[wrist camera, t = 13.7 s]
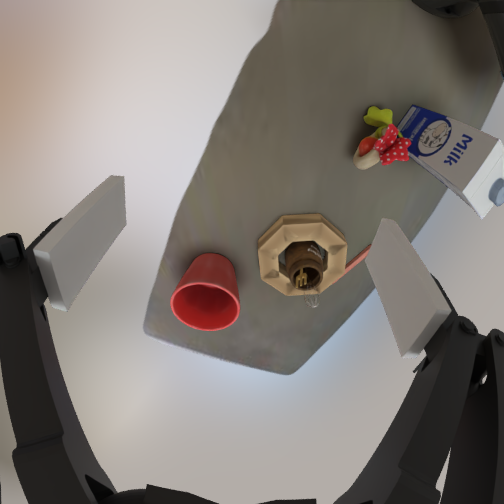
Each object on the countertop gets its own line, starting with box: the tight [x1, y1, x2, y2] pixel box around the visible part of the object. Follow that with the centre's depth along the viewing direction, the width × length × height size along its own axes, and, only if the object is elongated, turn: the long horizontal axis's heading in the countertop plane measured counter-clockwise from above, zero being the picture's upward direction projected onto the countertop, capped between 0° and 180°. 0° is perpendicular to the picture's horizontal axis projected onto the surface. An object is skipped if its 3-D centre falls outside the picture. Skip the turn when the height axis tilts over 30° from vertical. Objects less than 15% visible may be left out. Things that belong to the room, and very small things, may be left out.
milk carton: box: [397, 105, 504, 219], centre depth 29 cm, size 7×7×20 cm
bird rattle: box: [353, 106, 411, 170], centre depth 34 cm, size 6×11×9 cm
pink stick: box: [332, 244, 371, 284], centre depth 50 cm, size 10×1×1 cm, turn 141°
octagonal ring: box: [258, 213, 347, 296], centre depth 49 cm, size 14×14×3 cm
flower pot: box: [170, 253, 240, 331], centre depth 49 cm, size 11×11×10 cm
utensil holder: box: [285, 241, 323, 308], centre depth 45 cm, size 6×6×12 cm
